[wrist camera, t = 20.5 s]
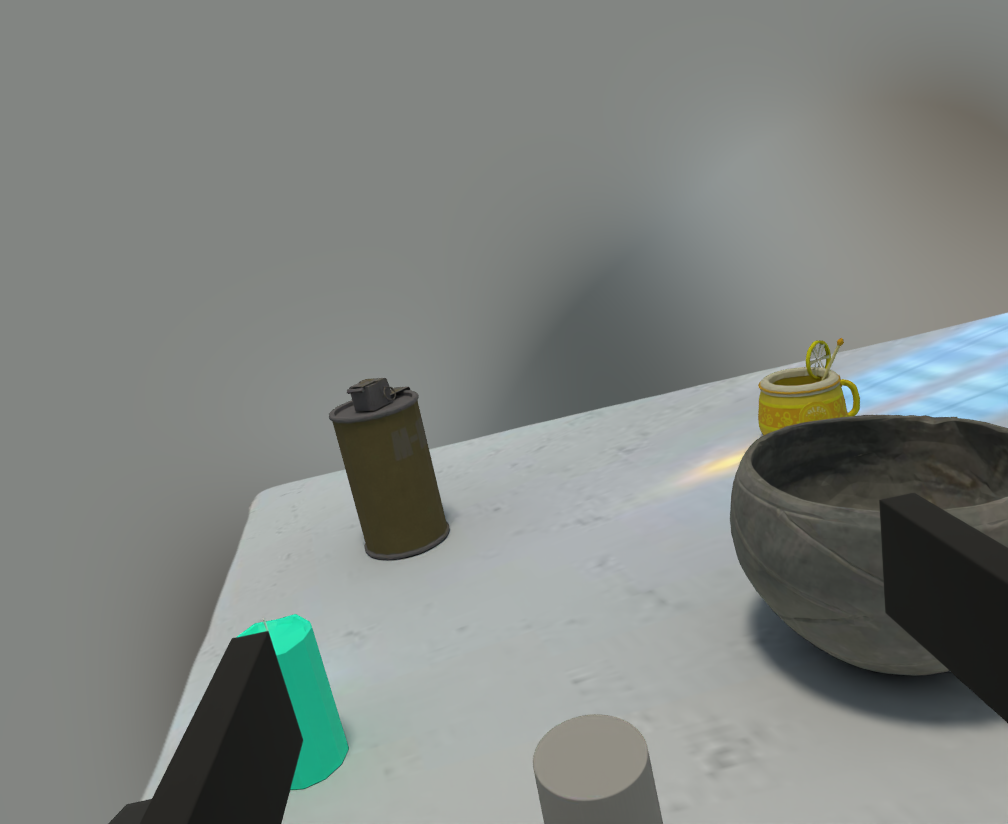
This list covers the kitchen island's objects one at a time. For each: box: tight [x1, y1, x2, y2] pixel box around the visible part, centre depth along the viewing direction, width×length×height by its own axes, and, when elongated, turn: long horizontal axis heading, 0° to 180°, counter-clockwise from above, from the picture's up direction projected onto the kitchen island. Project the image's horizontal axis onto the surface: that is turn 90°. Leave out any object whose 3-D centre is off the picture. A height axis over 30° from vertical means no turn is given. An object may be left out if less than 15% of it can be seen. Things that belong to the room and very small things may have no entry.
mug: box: [758, 338, 860, 435], centre depth 94 cm, size 13×11×12 cm
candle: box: [237, 614, 349, 790], centre depth 53 cm, size 6×6×12 cm
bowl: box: [730, 415, 1008, 676], centre depth 53 cm, size 21×21×15 cm
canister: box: [329, 378, 449, 560], centre depth 86 cm, size 11×10×20 cm
